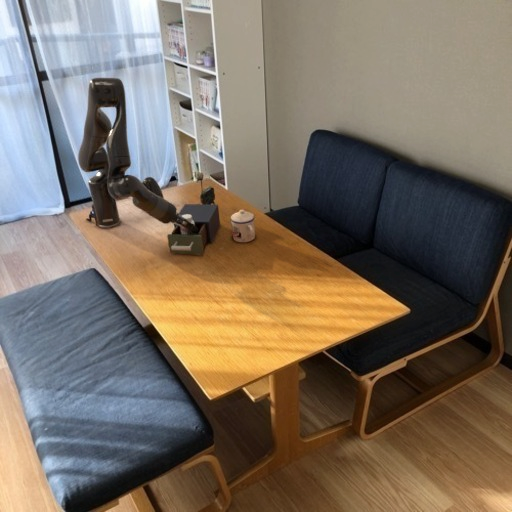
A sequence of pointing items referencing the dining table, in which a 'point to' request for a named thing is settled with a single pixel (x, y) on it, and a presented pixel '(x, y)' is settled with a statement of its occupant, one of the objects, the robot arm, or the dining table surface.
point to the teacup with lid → (243, 226)
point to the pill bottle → (184, 230)
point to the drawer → (188, 240)
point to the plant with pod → (206, 192)
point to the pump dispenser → (152, 186)
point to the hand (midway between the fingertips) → (192, 228)
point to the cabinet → (204, 217)
